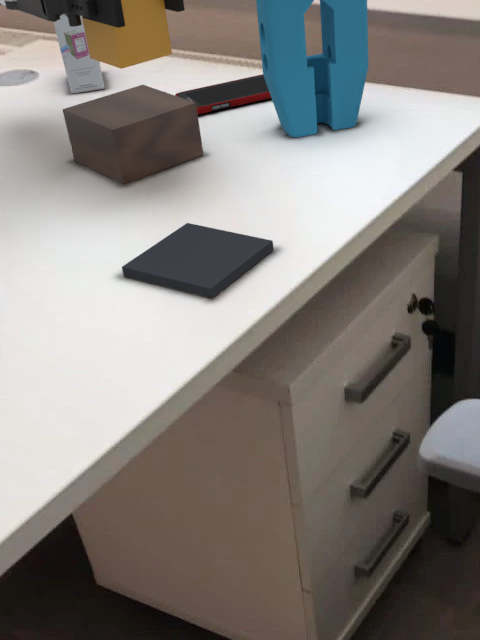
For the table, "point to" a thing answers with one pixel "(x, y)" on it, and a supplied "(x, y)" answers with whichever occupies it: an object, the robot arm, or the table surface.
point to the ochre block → (131, 35)
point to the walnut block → (134, 133)
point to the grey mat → (198, 259)
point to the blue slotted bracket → (314, 63)
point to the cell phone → (227, 94)
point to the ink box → (77, 57)
